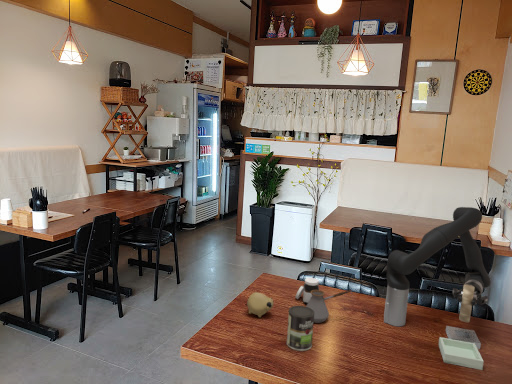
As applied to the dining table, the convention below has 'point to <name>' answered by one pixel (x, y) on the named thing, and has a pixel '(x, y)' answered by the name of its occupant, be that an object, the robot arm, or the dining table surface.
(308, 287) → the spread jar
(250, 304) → the toy pig
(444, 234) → the robot arm
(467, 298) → the dowel
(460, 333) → the socket block
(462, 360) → the tray
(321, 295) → the coffee pot
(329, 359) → the dining table surface
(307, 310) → the coffee can
